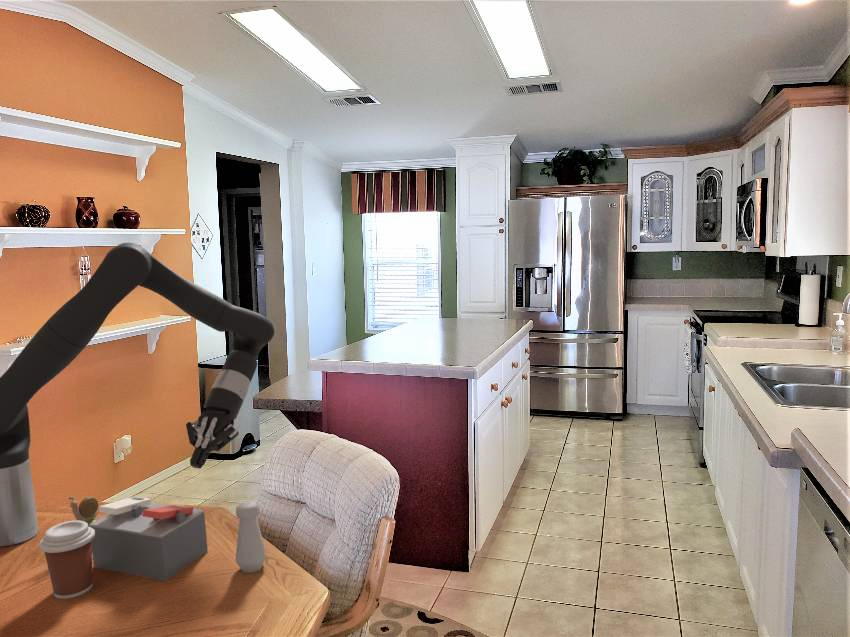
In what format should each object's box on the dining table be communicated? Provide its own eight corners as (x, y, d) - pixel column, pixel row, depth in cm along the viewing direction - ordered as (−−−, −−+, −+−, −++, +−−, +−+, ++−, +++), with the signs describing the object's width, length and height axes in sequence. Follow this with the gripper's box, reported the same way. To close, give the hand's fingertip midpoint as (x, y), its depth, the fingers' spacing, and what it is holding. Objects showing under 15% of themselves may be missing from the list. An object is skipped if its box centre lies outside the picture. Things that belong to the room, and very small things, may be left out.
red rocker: (142, 516, 125) (143, 509, 126) (175, 510, 134) (176, 504, 134) (160, 519, 124) (161, 511, 124) (192, 513, 132) (193, 506, 132)
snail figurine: (67, 550, 138) (60, 495, 136) (92, 537, 144) (86, 484, 142) (85, 554, 136) (79, 498, 134) (111, 540, 142) (105, 487, 140)
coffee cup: (42, 588, 123) (34, 527, 121) (95, 571, 128) (88, 513, 127) (49, 609, 115) (41, 544, 114) (105, 590, 121) (98, 529, 119)
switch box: (93, 567, 130) (88, 515, 129) (139, 540, 141) (135, 492, 140) (165, 581, 123) (160, 526, 122) (207, 551, 135) (203, 501, 133)
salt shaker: (258, 576, 124) (253, 511, 122) (230, 574, 125) (225, 509, 123) (271, 561, 129) (267, 498, 128) (245, 559, 131) (240, 497, 129)
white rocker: (99, 512, 129) (99, 505, 129) (134, 502, 138) (134, 495, 138) (116, 514, 128) (116, 508, 128) (150, 504, 136) (150, 498, 136)
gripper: (194, 384, 145) (159, 456, 136) (244, 388, 141) (211, 462, 131) (212, 400, 151) (179, 470, 142) (260, 405, 146) (230, 477, 137)
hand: (195, 466), depth 137 cm, fingers closed
